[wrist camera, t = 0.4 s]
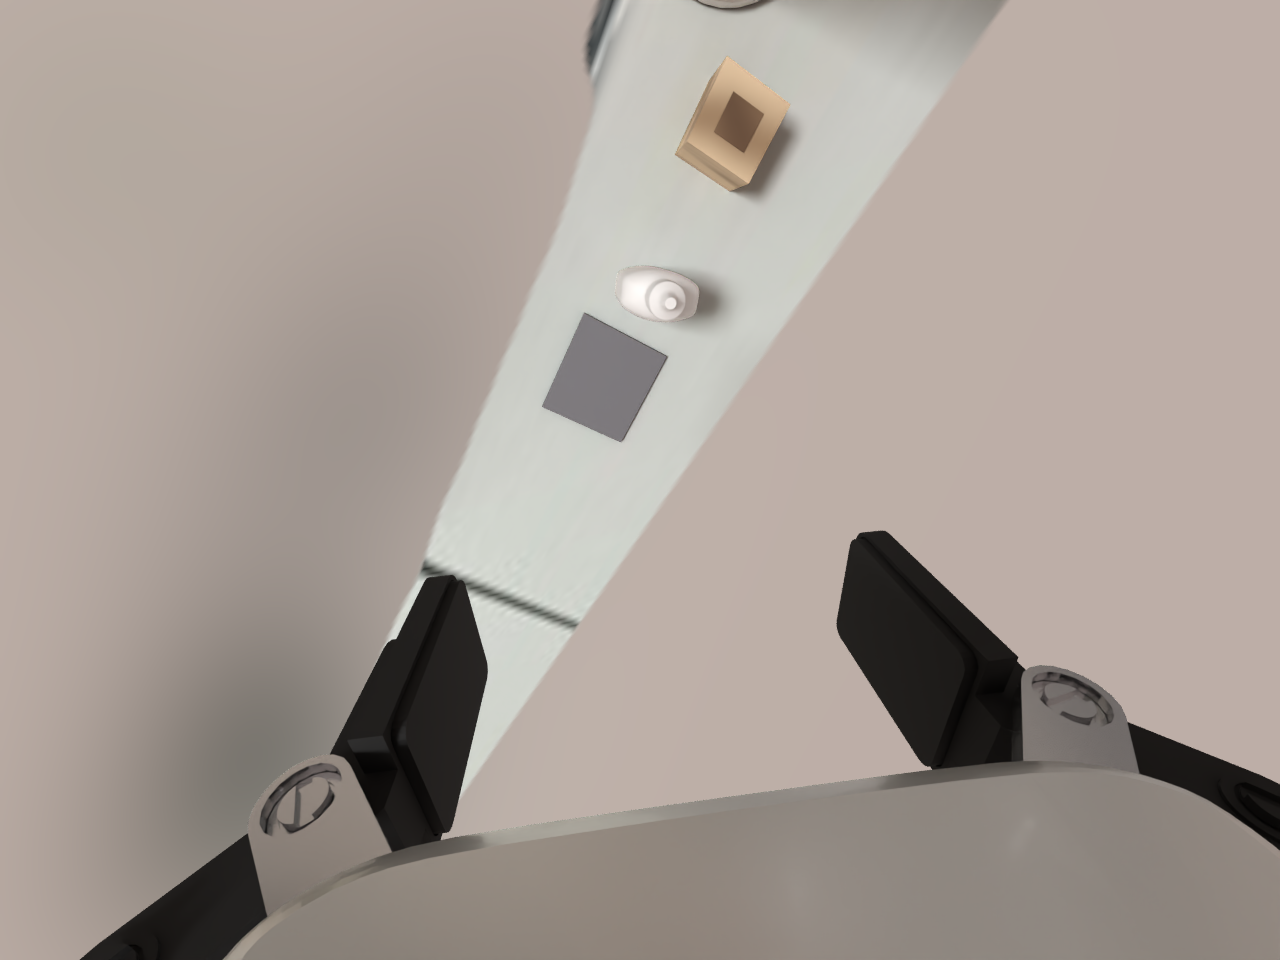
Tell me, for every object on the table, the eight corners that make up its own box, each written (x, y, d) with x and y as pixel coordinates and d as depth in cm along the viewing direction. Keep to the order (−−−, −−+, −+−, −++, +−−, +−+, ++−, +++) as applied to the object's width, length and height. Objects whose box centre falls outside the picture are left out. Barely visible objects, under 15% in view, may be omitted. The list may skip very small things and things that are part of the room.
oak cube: (708, 81, 34) (727, 55, 29) (764, 122, 35) (791, 104, 31) (674, 154, 35) (687, 141, 31) (729, 191, 37) (749, 183, 32)
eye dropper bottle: (658, 330, 41) (683, 360, 30) (605, 289, 39) (612, 305, 28) (690, 287, 40) (727, 302, 29) (637, 242, 38) (656, 240, 27)
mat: (584, 312, 40) (584, 313, 39) (666, 355, 42) (666, 356, 42) (542, 405, 43) (542, 406, 42) (620, 440, 45) (621, 442, 45)
